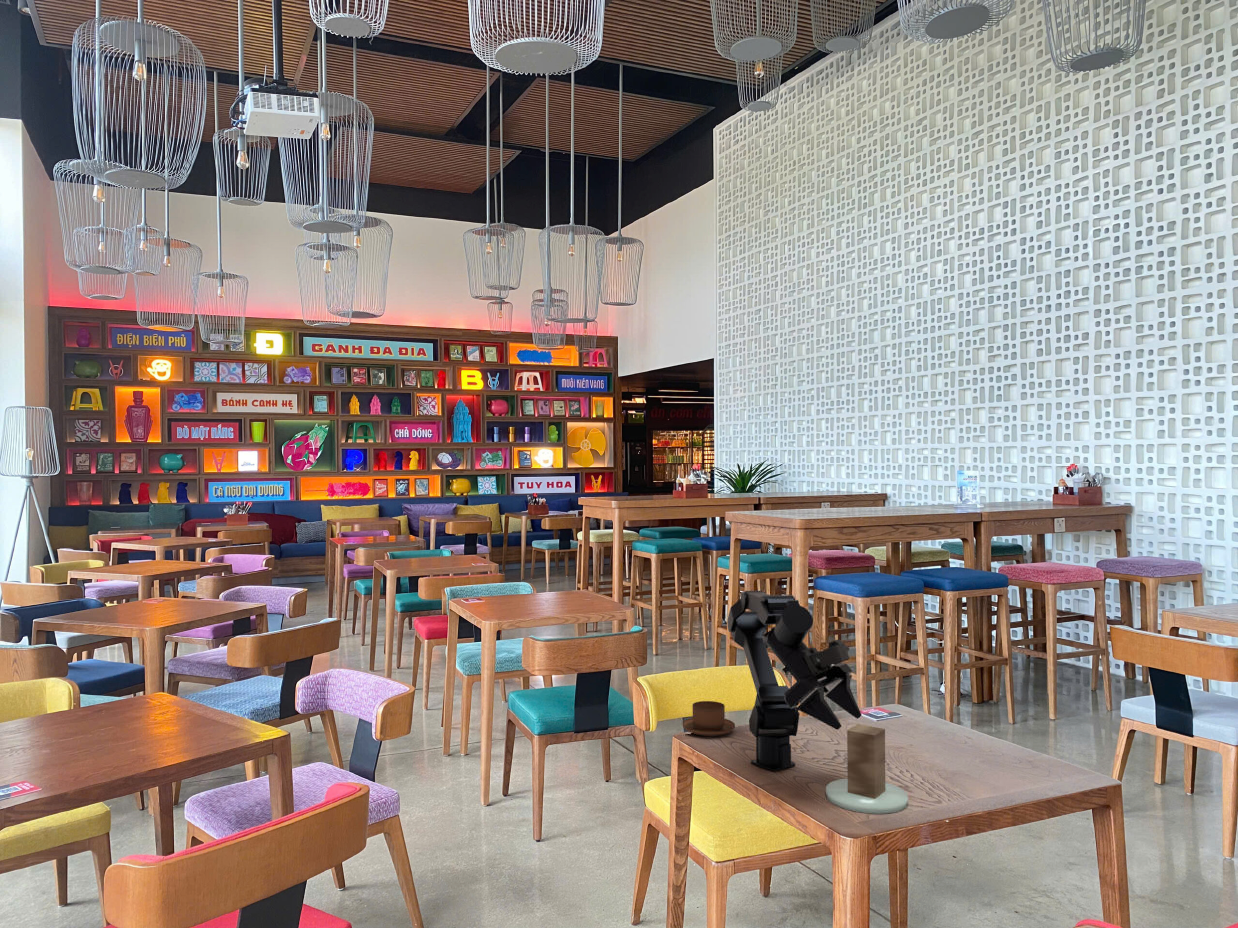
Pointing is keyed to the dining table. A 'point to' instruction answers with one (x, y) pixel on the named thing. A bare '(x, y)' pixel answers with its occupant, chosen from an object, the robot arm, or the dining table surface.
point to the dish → (867, 799)
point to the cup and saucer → (708, 719)
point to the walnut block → (866, 760)
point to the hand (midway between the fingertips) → (849, 722)
